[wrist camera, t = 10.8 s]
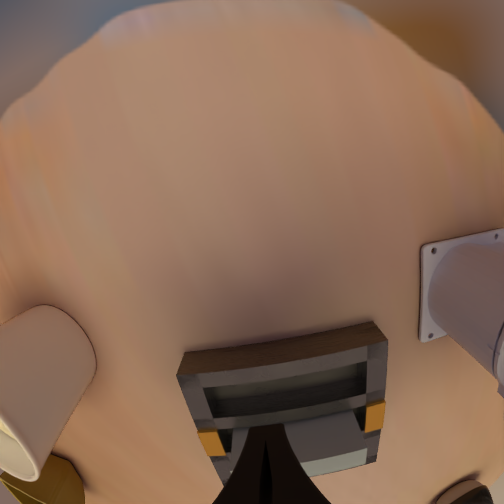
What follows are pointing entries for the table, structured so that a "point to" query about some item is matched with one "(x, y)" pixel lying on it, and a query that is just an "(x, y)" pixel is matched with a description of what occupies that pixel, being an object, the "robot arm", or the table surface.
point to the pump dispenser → (467, 494)
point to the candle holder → (39, 385)
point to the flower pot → (48, 484)
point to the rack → (286, 386)
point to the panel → (317, 442)
